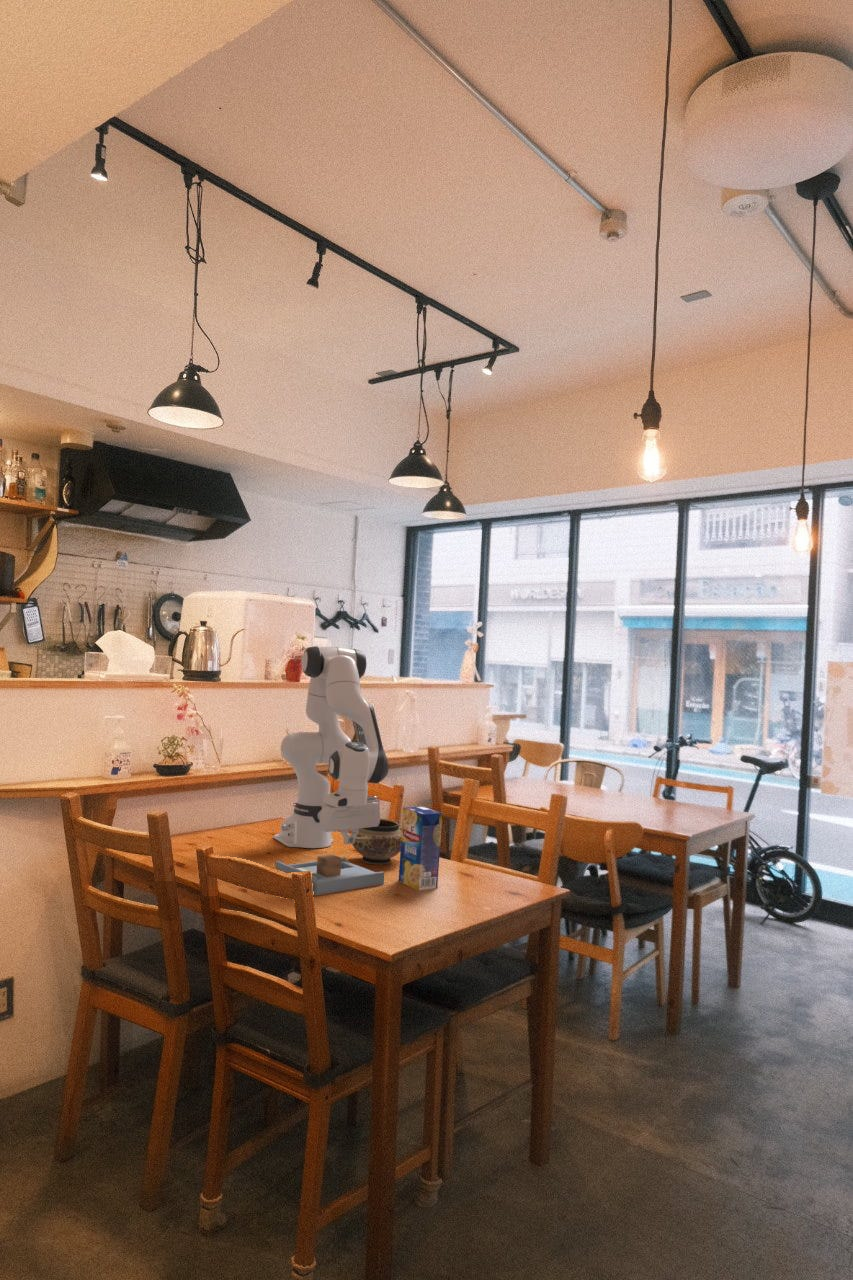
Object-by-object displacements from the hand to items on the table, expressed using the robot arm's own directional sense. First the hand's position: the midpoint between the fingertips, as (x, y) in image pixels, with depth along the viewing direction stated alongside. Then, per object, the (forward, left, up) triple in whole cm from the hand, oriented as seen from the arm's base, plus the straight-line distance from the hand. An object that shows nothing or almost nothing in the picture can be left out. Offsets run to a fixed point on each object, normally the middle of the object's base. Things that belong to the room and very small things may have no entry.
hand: (348, 843), depth 248 cm
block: (+1, -7, -8) cm, 11 cm away
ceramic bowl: (-13, +21, -11) cm, 27 cm away
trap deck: (0, -6, -11) cm, 12 cm away
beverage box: (+15, +15, -11) cm, 24 cm away
